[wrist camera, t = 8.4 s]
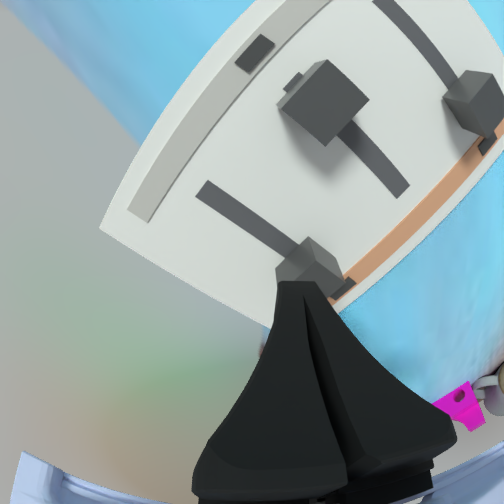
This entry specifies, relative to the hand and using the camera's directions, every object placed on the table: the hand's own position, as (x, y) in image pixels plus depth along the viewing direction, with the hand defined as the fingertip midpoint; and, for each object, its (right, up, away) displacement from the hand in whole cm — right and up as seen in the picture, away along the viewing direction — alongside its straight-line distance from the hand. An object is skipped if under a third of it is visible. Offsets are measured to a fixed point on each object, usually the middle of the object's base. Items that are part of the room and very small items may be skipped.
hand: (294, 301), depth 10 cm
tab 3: (+9, +9, -1) cm, 13 cm away
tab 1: (+1, +8, -1) cm, 8 cm away
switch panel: (+3, +7, +2) cm, 8 cm away
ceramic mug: (+36, -13, +15) cm, 41 cm away
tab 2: (+1, +1, +4) cm, 4 cm away
